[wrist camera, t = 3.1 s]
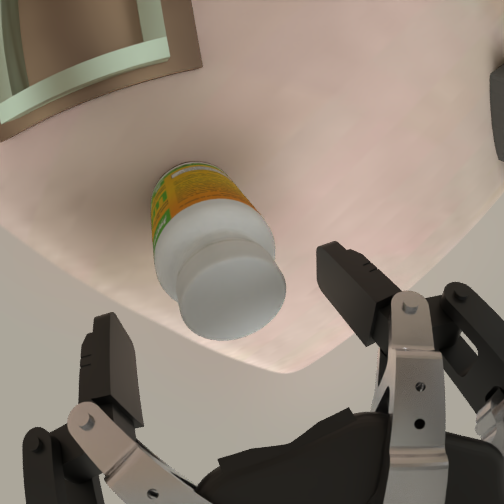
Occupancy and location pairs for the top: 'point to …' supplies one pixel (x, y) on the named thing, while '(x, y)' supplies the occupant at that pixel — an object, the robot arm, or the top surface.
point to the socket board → (86, 52)
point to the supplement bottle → (214, 253)
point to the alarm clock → (497, 109)
